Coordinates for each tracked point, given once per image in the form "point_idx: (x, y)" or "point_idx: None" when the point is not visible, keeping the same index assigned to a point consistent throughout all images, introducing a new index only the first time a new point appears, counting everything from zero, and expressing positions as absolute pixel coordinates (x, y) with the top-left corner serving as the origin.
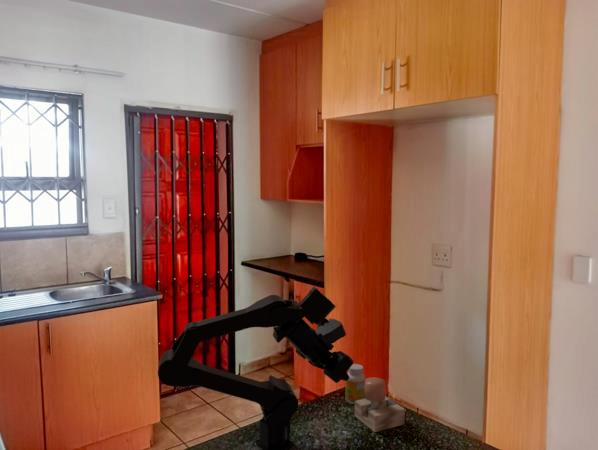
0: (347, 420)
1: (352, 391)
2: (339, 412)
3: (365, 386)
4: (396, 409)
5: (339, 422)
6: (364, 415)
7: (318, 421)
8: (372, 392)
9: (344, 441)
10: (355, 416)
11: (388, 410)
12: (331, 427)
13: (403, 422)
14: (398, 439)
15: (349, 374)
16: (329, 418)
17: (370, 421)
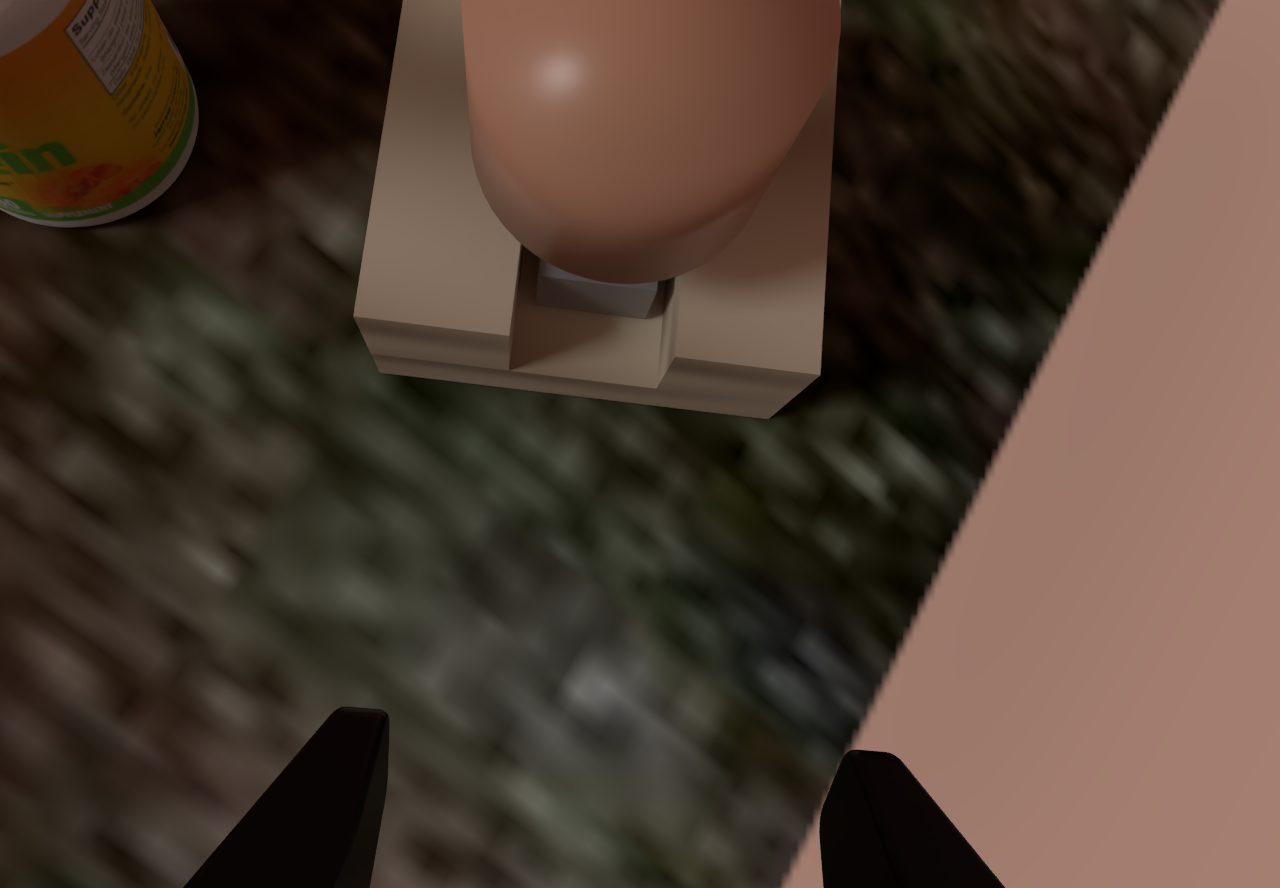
0: (417, 506)
1: (76, 137)
2: (211, 469)
3: (588, 199)
4: None
5: (403, 615)
6: (538, 341)
7: None
8: (737, 207)
9: (754, 814)
10: (399, 374)
11: None
12: (443, 768)
13: None
14: (971, 316)
15: None
16: (258, 664)
17: (703, 391)
